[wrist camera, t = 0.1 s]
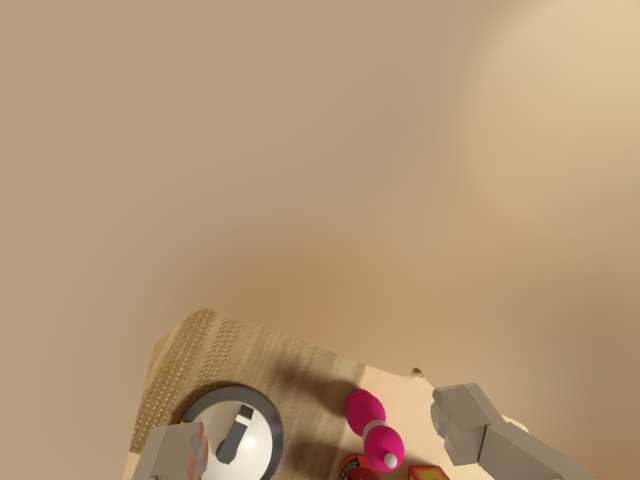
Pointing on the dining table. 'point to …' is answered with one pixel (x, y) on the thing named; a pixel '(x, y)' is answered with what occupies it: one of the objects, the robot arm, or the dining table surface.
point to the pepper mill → (374, 431)
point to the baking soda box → (426, 473)
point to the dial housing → (254, 399)
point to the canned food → (357, 469)
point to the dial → (236, 441)
